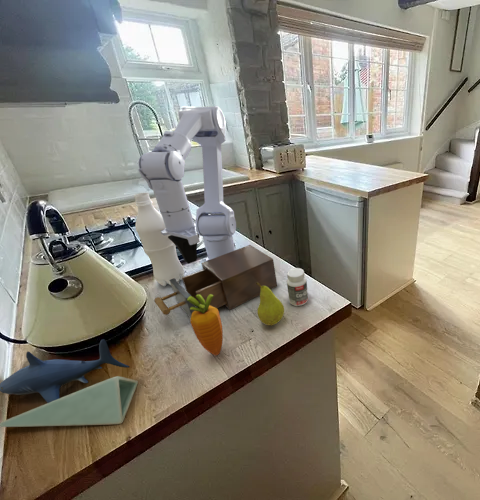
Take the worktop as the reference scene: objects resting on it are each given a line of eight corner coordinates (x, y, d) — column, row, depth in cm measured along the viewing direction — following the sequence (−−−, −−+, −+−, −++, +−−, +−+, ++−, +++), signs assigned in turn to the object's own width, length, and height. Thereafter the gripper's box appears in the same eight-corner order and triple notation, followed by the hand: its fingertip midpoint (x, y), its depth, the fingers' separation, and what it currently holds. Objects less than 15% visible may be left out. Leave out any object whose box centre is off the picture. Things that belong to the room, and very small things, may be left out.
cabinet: (229, 310, 71) (221, 280, 67) (209, 290, 78) (201, 262, 74) (277, 286, 80) (273, 258, 76) (255, 270, 87) (250, 244, 83)
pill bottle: (298, 309, 71) (295, 280, 67) (285, 301, 74) (281, 273, 70) (312, 299, 75) (309, 271, 71) (299, 292, 77) (296, 265, 73)
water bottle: (174, 289, 79) (141, 200, 67) (151, 286, 80) (115, 198, 68) (192, 275, 85) (165, 190, 73) (170, 272, 86) (140, 189, 74)
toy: (44, 378, 58) (1, 344, 53) (147, 348, 57) (113, 311, 52) (-1, 427, 50) (-57, 393, 45) (119, 393, 49) (75, 355, 44)
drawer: (172, 333, 63) (162, 308, 60) (157, 311, 70) (147, 288, 67) (245, 297, 74) (240, 275, 71) (226, 281, 80) (220, 260, 77)
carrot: (234, 346, 61) (218, 287, 54) (223, 365, 57) (203, 304, 50) (211, 344, 62) (192, 285, 54) (198, 364, 57) (176, 302, 50)
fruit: (289, 315, 69) (283, 272, 64) (279, 332, 64) (271, 288, 59) (266, 312, 70) (258, 269, 65) (255, 329, 65) (245, 285, 60)
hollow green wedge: (-5, 376, 46) (129, 357, 51) (13, 402, 49) (138, 382, 54) (-49, 425, 39) (111, 398, 44) (-25, 453, 42) (122, 424, 47)
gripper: (144, 205, 67) (163, 257, 73) (166, 222, 58) (185, 279, 65) (177, 197, 71) (192, 247, 78) (202, 212, 62) (216, 267, 69)
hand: (191, 261), depth 72 cm, fingers closed
